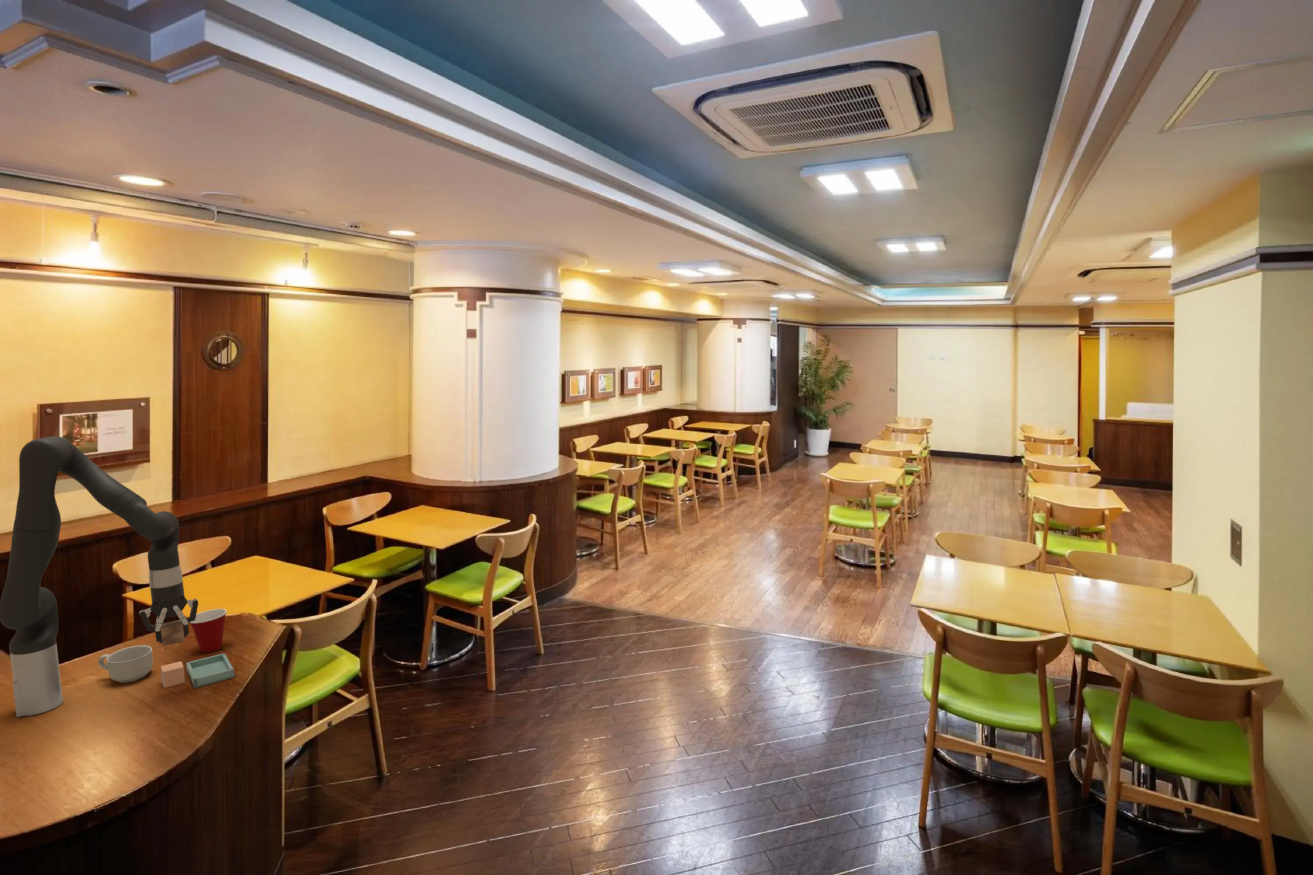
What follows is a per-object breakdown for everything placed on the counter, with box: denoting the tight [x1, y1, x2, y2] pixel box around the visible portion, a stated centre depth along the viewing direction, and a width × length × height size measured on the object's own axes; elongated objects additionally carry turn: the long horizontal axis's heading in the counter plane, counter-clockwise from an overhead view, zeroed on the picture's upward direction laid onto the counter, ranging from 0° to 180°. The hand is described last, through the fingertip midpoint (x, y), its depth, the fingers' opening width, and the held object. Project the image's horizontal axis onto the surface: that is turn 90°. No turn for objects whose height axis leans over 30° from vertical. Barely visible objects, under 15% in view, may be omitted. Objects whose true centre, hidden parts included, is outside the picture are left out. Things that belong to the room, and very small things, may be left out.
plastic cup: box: [189, 608, 227, 653], centre depth 217 cm, size 11×11×12 cm
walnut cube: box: [160, 619, 185, 647], centre depth 189 cm, size 5×5×5 cm
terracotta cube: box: [160, 661, 186, 689], centre depth 195 cm, size 5×5×5 cm
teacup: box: [97, 644, 154, 684], centre depth 198 cm, size 14×11×8 cm
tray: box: [185, 652, 235, 689], centre depth 200 cm, size 10×15×2 cm, turn 42°
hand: (173, 639), depth 189 cm, fingers closed on walnut cube, 5 cm apart
